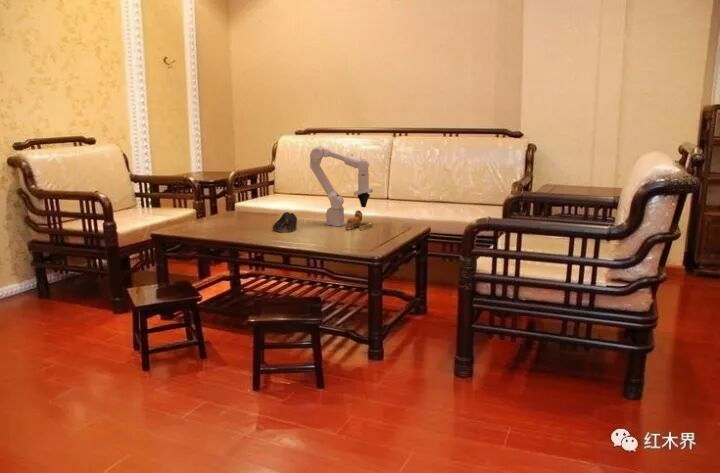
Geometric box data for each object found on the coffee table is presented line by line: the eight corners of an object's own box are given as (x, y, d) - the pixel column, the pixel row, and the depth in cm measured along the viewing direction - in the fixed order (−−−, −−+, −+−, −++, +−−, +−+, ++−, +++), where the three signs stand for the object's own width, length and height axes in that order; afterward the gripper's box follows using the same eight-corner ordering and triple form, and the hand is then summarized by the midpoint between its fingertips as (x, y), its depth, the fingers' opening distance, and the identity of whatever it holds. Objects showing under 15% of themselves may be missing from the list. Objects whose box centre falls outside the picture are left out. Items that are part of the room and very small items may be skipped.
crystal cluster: (274, 235, 300) (275, 216, 297) (270, 227, 312) (270, 209, 309) (299, 235, 304) (301, 216, 302) (294, 227, 317) (295, 209, 314)
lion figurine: (355, 225, 318) (355, 209, 315) (364, 226, 315) (364, 210, 313) (343, 231, 305) (342, 214, 303) (352, 232, 302) (352, 215, 300)
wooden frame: (347, 228, 311) (347, 224, 310) (359, 225, 318) (359, 221, 318) (361, 230, 305) (361, 226, 305) (372, 227, 313) (372, 223, 312)
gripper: (361, 184, 305) (361, 209, 309) (377, 181, 317) (377, 205, 320) (350, 183, 310) (350, 208, 313) (367, 180, 321) (367, 204, 324)
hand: (363, 207), depth 317 cm, fingers closed
